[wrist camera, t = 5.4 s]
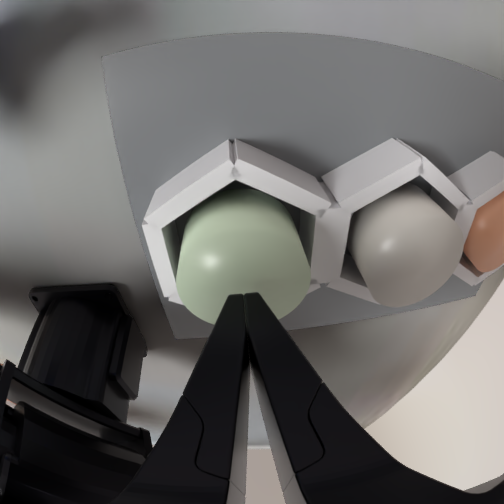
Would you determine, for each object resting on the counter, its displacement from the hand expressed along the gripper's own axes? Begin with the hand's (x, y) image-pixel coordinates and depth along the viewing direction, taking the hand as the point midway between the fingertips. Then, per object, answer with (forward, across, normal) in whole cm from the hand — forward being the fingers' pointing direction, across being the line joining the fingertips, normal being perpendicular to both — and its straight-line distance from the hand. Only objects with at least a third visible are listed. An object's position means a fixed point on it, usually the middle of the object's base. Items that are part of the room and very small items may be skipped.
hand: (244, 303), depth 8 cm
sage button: (+3, 0, 0) cm, 3 cm away
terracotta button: (+4, -12, 0) cm, 13 cm away
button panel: (+6, -6, 0) cm, 8 cm away
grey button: (+3, -6, 0) cm, 7 cm away
